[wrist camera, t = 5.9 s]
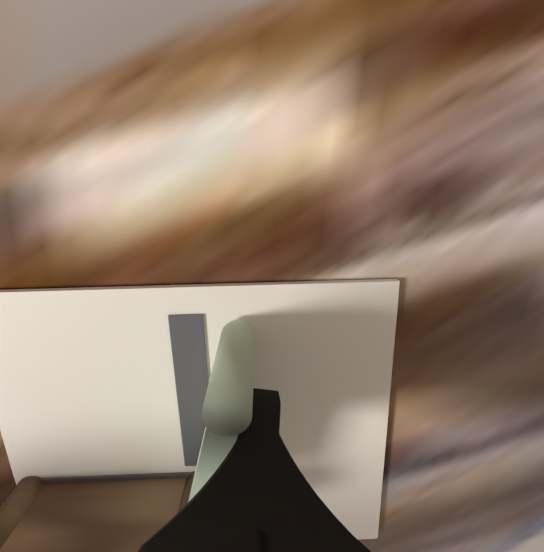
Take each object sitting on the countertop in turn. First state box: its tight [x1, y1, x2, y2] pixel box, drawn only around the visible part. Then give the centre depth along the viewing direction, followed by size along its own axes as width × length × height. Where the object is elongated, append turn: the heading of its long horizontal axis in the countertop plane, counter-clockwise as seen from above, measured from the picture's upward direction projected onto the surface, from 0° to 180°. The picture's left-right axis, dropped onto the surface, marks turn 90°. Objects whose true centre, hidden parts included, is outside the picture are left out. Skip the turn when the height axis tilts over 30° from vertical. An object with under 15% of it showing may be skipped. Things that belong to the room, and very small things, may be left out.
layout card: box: [0, 279, 400, 540], centre depth 14 cm, size 15×12×1 cm
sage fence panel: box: [188, 320, 255, 502], centre depth 11 cm, size 7×1×4 cm, turn 166°
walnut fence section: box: [0, 471, 195, 552], centre depth 12 cm, size 8×1×5 cm, turn 91°
